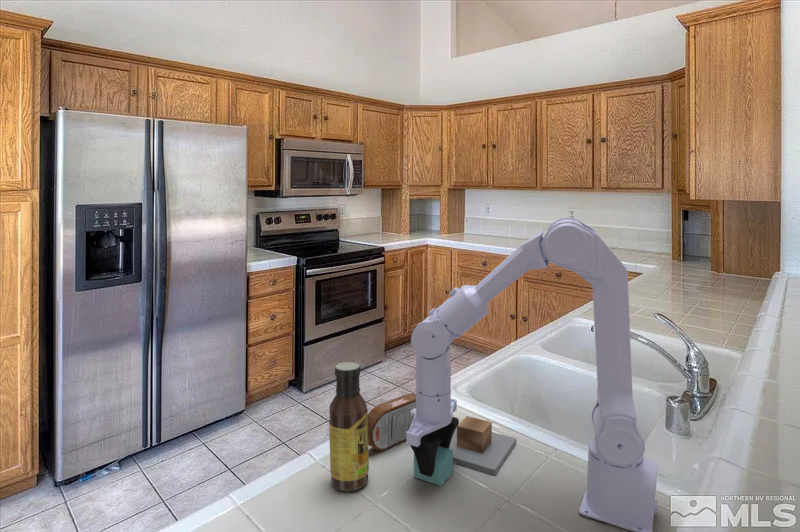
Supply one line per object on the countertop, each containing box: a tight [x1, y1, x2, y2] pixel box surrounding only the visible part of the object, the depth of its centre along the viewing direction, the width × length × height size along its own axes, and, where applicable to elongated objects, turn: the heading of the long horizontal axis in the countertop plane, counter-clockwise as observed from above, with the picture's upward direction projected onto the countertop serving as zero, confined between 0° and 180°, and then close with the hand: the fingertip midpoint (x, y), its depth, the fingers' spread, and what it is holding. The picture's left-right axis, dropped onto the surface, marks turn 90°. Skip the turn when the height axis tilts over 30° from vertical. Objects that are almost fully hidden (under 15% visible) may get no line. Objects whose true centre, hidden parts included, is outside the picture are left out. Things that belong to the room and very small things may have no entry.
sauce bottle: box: [328, 361, 370, 492], centre depth 77 cm, size 6×6×20 cm
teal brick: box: [413, 446, 454, 487], centre depth 79 cm, size 5×4×4 cm
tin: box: [368, 392, 416, 452], centre depth 90 cm, size 15×3×8 cm, turn 132°
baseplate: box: [449, 427, 517, 476], centre depth 88 cm, size 12×12×1 cm
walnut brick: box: [457, 415, 493, 454], centre depth 87 cm, size 5×4×4 cm
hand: (433, 466), depth 80 cm, fingers closed on teal brick, 4 cm apart
